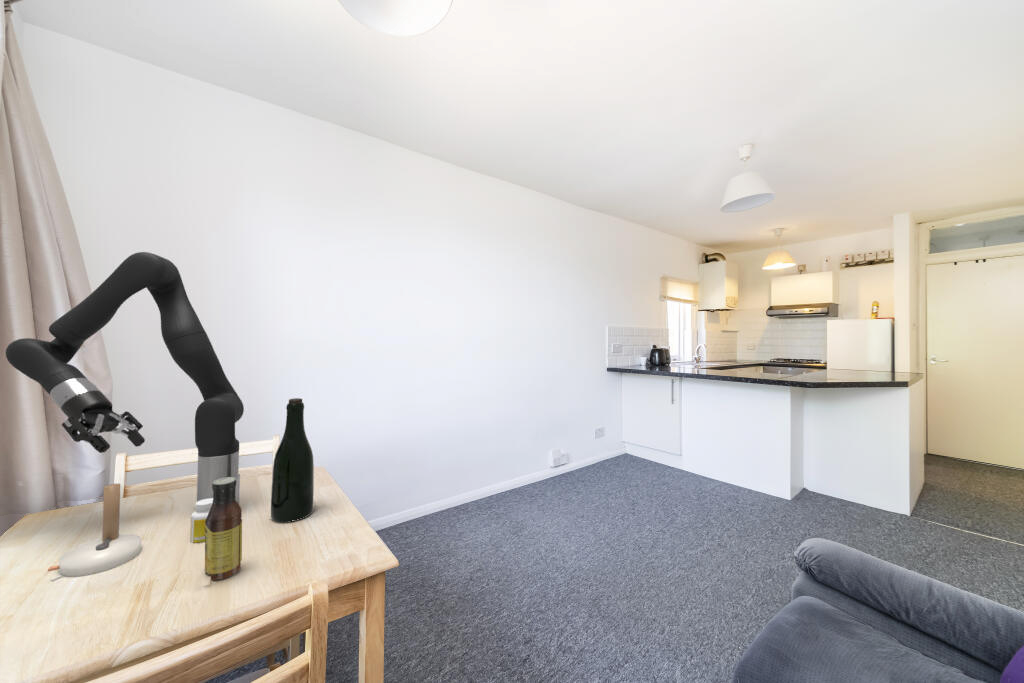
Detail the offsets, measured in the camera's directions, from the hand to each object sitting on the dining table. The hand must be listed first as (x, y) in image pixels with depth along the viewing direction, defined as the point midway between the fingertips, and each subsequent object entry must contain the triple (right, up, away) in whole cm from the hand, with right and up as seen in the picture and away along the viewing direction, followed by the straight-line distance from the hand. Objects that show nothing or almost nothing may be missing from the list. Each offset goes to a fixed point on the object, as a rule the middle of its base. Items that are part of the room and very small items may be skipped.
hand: (124, 446), depth 93 cm
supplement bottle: (+20, -23, -1) cm, 31 cm away
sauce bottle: (+34, -23, -13) cm, 43 cm away
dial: (+6, -21, -11) cm, 25 cm away
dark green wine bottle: (+33, -24, +15) cm, 43 cm away
